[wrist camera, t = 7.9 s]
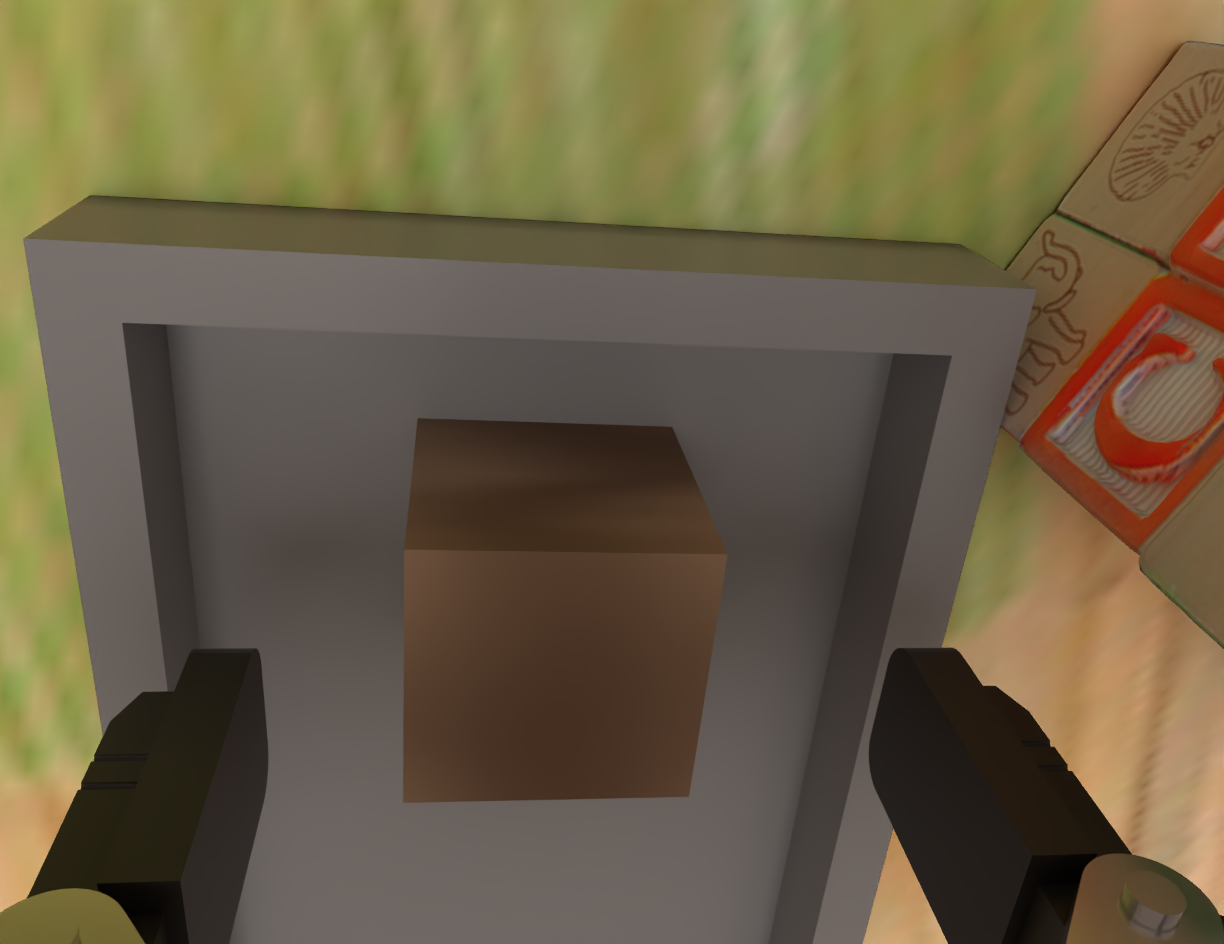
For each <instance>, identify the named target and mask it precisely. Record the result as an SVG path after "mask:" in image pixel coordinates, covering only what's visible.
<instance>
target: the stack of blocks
mask: <svg viewBox="0 0 1224 944" xmlns="http://www.w3.org/2000/svg"><path fill="white" fill-rule="evenodd" d="M1006 272H1008V273H1010V274H1011V275H1013V276H1015V277H1016V278H1018V279H1020V280H1022V281H1023V282H1025V283H1027V284H1028V285H1030V286H1032V287H1033V288H1035V289H1037V291H1036V295H1035V298H1034V302H1033V306H1032V310H1031V313H1030V317H1029V321H1028V325H1027V328H1026V332H1025V336H1024V340H1023V343H1022V347H1021V351H1020V355H1019V358H1018V362H1017V366H1016V370H1015V373H1014V377H1013V381H1012V385H1011V388H1010V392H1009V396H1008V400H1007V403H1006V407H1005V411H1004V415H1003V418H1002V422H1001V427H1002V428H1003V429H1004V430H1006V431H1007V432H1008V433H1009V434H1010V435H1012V436H1013V437H1014V438H1015V439H1016V440H1017V441H1019V442H1020V446H1019V447H1020V448H1021V449H1022V450H1023V451H1024V452H1025V453H1026V454H1027V455H1028V456H1029V457H1030V458H1031V459H1032V460H1033V461H1034V462H1035V463H1036V464H1037V465H1038V466H1039V467H1040V468H1041V469H1042V470H1043V471H1044V472H1045V473H1046V474H1048V475H1049V476H1050V477H1051V478H1052V479H1053V480H1054V481H1055V482H1056V483H1057V484H1059V485H1060V486H1061V487H1062V488H1063V489H1064V490H1065V491H1066V492H1067V493H1068V494H1070V495H1071V496H1072V497H1073V498H1074V499H1075V500H1076V501H1077V502H1078V503H1080V504H1081V505H1082V506H1083V507H1084V508H1085V509H1086V510H1088V511H1089V512H1090V513H1091V514H1092V515H1093V516H1094V517H1095V518H1097V519H1098V520H1099V521H1100V522H1101V523H1102V524H1103V525H1104V526H1106V527H1107V528H1108V529H1109V530H1110V531H1111V532H1112V533H1114V534H1115V535H1116V536H1117V537H1118V538H1119V539H1120V540H1121V541H1123V542H1124V543H1125V544H1126V545H1127V546H1128V547H1129V548H1130V549H1132V550H1133V551H1134V552H1136V553H1137V554H1138V555H1140V557H1139V565H1140V570H1141V571H1142V572H1143V573H1144V574H1145V575H1146V576H1147V577H1148V578H1149V579H1150V580H1151V582H1152V583H1153V584H1154V585H1155V586H1157V587H1158V588H1159V589H1160V590H1161V591H1162V592H1163V593H1164V594H1165V595H1166V596H1167V597H1168V598H1169V599H1170V600H1171V601H1172V602H1174V603H1175V604H1176V605H1177V606H1179V607H1180V608H1181V609H1182V610H1183V611H1184V612H1185V613H1186V614H1187V615H1188V616H1189V617H1190V618H1191V619H1192V620H1193V621H1194V622H1195V623H1196V624H1197V625H1198V626H1199V627H1200V628H1201V629H1202V630H1204V631H1205V632H1206V633H1207V634H1208V635H1209V636H1210V637H1211V638H1212V639H1214V640H1215V641H1216V642H1217V643H1218V644H1219V645H1220V646H1221V647H1222V648H1223V649H1224V45H1220V44H1213V43H1206V42H1197V41H1187V42H1186V43H1185V44H1184V45H1183V46H1182V47H1181V48H1180V49H1179V51H1178V52H1177V53H1176V55H1175V56H1174V57H1173V59H1172V60H1171V61H1170V63H1169V64H1168V65H1167V66H1166V68H1165V69H1164V70H1163V71H1162V73H1161V74H1160V75H1159V76H1158V78H1157V79H1156V80H1155V81H1154V83H1153V84H1152V85H1151V86H1150V88H1149V89H1148V90H1147V91H1146V93H1145V94H1144V95H1143V96H1142V98H1141V99H1140V100H1139V102H1138V103H1137V104H1136V105H1135V107H1134V108H1133V109H1132V111H1131V112H1130V113H1129V114H1128V116H1127V117H1126V118H1125V120H1124V121H1123V122H1122V124H1121V125H1120V126H1119V127H1118V129H1117V130H1116V131H1115V133H1114V134H1113V135H1112V137H1111V138H1110V139H1109V141H1108V142H1107V143H1106V145H1105V146H1104V147H1103V148H1102V150H1101V151H1100V152H1099V154H1098V155H1097V156H1096V158H1095V159H1094V160H1093V162H1092V163H1091V164H1090V165H1089V167H1088V168H1087V169H1086V171H1085V172H1084V173H1083V175H1082V176H1081V177H1080V178H1079V180H1078V181H1077V182H1076V184H1075V185H1074V186H1073V188H1072V189H1071V190H1070V191H1069V193H1068V194H1067V195H1066V197H1065V198H1064V199H1063V201H1062V203H1061V204H1060V206H1059V208H1058V209H1057V211H1056V212H1055V213H1054V214H1053V215H1051V216H1050V217H1049V218H1047V219H1046V220H1045V221H1044V222H1043V223H1042V225H1041V226H1040V227H1039V228H1038V230H1037V231H1036V232H1035V233H1034V235H1033V236H1032V237H1031V239H1030V240H1029V241H1028V243H1027V244H1026V245H1025V247H1024V248H1023V249H1022V251H1021V252H1020V253H1019V254H1018V256H1017V257H1016V258H1015V260H1014V261H1013V262H1012V263H1011V265H1010V266H1009V267H1008V269H1007V270H1006Z"/></svg>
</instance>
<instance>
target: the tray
mask: <svg viewBox="0 0 1224 944" xmlns="http://www.w3.org/2000/svg"><path fill="white" fill-rule="evenodd" d="M23 240H24V246H25V252H26V258H27V265H28V271H29V277H30V283H31V290H32V296H33V302H34V308H35V315H36V321H37V327H38V333H39V340H40V346H41V352H42V358H43V365H44V371H45V377H46V383H47V390H48V396H49V402H50V408H51V414H52V421H53V427H54V433H55V439H56V446H57V452H58V458H59V464H60V471H61V477H62V483H63V489H64V496H65V502H66V508H67V514H68V521H69V527H70V533H71V539H72V545H73V552H74V558H75V564H76V570H77V577H78V583H79V589H80V595H81V602H82V608H83V614H84V620H85V627H86V633H87V639H88V645H89V652H90V658H91V664H92V670H93V677H94V683H95V689H96V695H97V701H98V708H99V714H100V720H101V726H102V733H103V735H104V733H105V731H106V729H107V727H108V725H109V723H110V721H111V720H112V719H113V718H114V717H115V716H116V715H118V714H119V713H120V712H121V711H122V710H123V709H124V708H125V707H126V706H127V705H129V704H130V703H131V702H132V701H133V700H134V699H135V698H136V697H137V696H138V695H140V694H141V693H142V692H161V691H174V690H175V688H176V685H177V683H178V680H179V678H180V675H181V673H182V670H183V668H184V665H185V663H186V660H187V658H188V656H189V654H190V652H191V651H192V650H193V649H215V648H257V649H258V651H259V653H260V658H261V665H262V677H263V689H264V701H265V714H266V726H267V738H268V777H267V786H266V793H265V799H264V803H263V807H262V812H261V816H260V820H259V824H258V828H257V832H256V836H255V840H254V844H253V848H252V852H251V856H250V860H249V864H248V868H247V873H246V877H245V881H244V885H243V889H242V893H241V897H240V901H239V905H238V909H237V913H236V917H235V921H234V925H233V930H232V934H231V938H230V942H229V944H862V943H863V940H864V936H865V932H866V928H867V925H868V921H869V917H870V913H871V910H872V906H873V902H874V898H875V895H876V891H877V887H878V883H879V880H880V876H881V872H882V868H883V865H884V861H885V857H886V853H887V850H888V846H889V842H890V838H891V835H892V831H893V826H892V824H891V822H890V820H889V818H888V816H887V813H886V811H885V809H884V807H883V805H882V803H881V801H880V799H879V797H878V794H877V792H876V790H875V788H874V785H873V782H872V778H871V774H870V767H869V741H870V736H871V732H872V728H873V724H874V719H875V715H876V711H877V707H878V703H879V699H880V695H881V690H882V686H883V682H884V678H885V674H886V670H887V666H888V662H889V659H890V656H891V654H892V653H893V651H894V650H895V649H897V648H941V647H942V643H943V640H944V636H945V632H946V628H947V625H948V621H949V617H950V613H951V610H952V606H953V602H954V598H955V595H956V591H957V587H958V583H959V580H960V576H961V572H962V568H963V565H964V561H965V557H966V553H967V550H968V546H969V542H970V538H971V535H972V531H973V527H974V523H975V520H976V516H977V512H978V508H979V505H980V501H981V497H982V493H983V490H984V486H985V482H986V478H987V475H988V471H989V467H990V463H991V460H992V456H993V452H994V448H995V445H996V441H997V437H998V433H999V430H1000V426H1001V422H1002V418H1003V415H1004V411H1005V407H1006V403H1007V400H1008V396H1009V392H1010V388H1011V385H1012V381H1013V377H1014V373H1015V370H1016V366H1017V362H1018V358H1019V355H1020V351H1021V347H1022V343H1023V340H1024V336H1025V332H1026V328H1027V325H1028V321H1029V317H1030V313H1031V310H1032V306H1033V302H1034V298H1035V295H1036V291H1037V289H1035V288H1033V287H1032V286H1030V285H1028V284H1027V283H1025V282H1023V281H1022V280H1020V279H1018V278H1016V277H1015V276H1013V275H1011V274H1010V273H1008V272H1006V271H1005V270H1003V269H1001V268H1000V267H998V266H996V265H994V264H993V263H991V262H989V261H988V260H986V259H984V258H983V257H981V256H979V255H977V254H976V253H974V252H972V251H971V250H969V249H967V248H966V247H964V246H962V245H961V244H943V243H925V242H908V241H890V240H872V239H854V238H837V237H819V236H801V235H783V234H766V233H748V232H730V231H712V230H695V229H677V228H659V227H641V226H624V225H606V224H588V223H571V222H553V221H535V220H517V219H500V218H482V217H464V216H446V215H429V214H411V213H393V212H375V211H358V210H340V209H322V208H304V207H287V206H269V205H251V204H233V203H216V202H198V201H180V200H162V199H145V198H127V197H109V196H92V195H90V196H88V197H87V198H85V199H84V200H82V201H81V202H79V203H78V204H76V205H75V206H73V207H71V208H70V209H68V210H67V211H65V212H64V213H62V214H61V215H59V216H58V217H56V218H54V219H53V220H51V221H50V222H48V223H47V224H45V225H44V226H42V227H41V228H39V229H38V230H36V231H34V232H33V233H31V234H30V235H28V236H27V237H25V238H24V239H23ZM418 418H428V419H458V420H488V421H518V422H547V423H577V424H607V425H636V426H666V427H672V428H673V430H674V432H675V435H676V437H677V439H678V442H679V444H680V446H681V448H682V451H683V453H684V455H685V458H686V460H687V462H688V464H689V467H690V469H691V471H692V474H693V476H694V478H695V481H696V483H697V485H698V487H699V490H700V492H701V494H702V497H703V499H704V501H705V503H706V506H707V508H708V510H709V513H710V515H711V517H712V520H713V522H714V524H715V526H716V529H717V531H718V533H719V536H720V538H721V540H722V542H723V545H724V547H725V549H726V552H727V554H728V556H727V562H726V569H725V575H724V581H723V587H722V594H721V600H720V606H719V612H718V619H717V625H716V631H715V637H714V644H713V650H712V656H711V662H710V669H709V675H708V681H707V687H706V694H705V700H704V706H703V712H702V719H701V725H700V731H699V738H698V744H697V750H696V756H695V763H694V769H693V775H692V781H691V788H690V794H689V797H664V798H616V799H569V800H521V801H474V802H427V803H403V701H404V548H405V538H406V528H407V518H408V508H409V499H410V489H411V479H412V469H413V459H414V450H415V440H416V430H417V420H418Z"/></svg>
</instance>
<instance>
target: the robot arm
mask: <svg viewBox="0 0 1224 944" xmlns="http://www.w3.org/2000/svg"><path fill="white" fill-rule="evenodd" d="M94 756H95V757H94V762H91V763H90V765H89V767H88V770H87V772H86V774H85V776H84V778H83V780H82V782H81V790H78V791H77V793H76V795H75V797H74V799H73V802H72V804H71V806H70V808H69V810H68V812H67V814H66V817H65V819H64V821H63V823H62V825H61V827H60V829H59V831H58V834H57V836H56V838H55V840H54V842H53V844H52V846H51V849H50V851H49V853H48V855H47V857H46V859H45V861H44V863H43V866H42V868H41V870H40V872H39V874H38V876H37V878H36V880H35V883H34V885H33V887H32V889H31V891H30V893H29V895H28V897H27V899H25V900H22V901H20V902H18V903H16V904H14V905H12V906H11V907H9V908H7V909H5V910H4V911H2V912H1V913H0V944H229V942H230V938H231V934H232V930H233V925H234V921H235V917H236V913H237V909H238V905H239V901H240V897H241V893H242V889H243V885H244V881H245V877H246V873H247V868H248V864H249V860H250V856H251V852H252V848H253V844H254V840H255V836H256V832H257V828H258V824H259V820H260V816H261V812H262V807H263V803H264V799H265V793H266V786H267V777H268V738H267V726H266V714H265V701H264V689H263V677H262V665H261V658H260V653H259V651H258V649H257V648H215V649H193V650H192V651H191V652H190V654H189V656H188V658H187V660H186V663H185V665H184V668H183V670H182V673H181V675H180V678H179V680H178V683H177V685H176V688H175V690H174V691H161V692H142V693H141V694H140V695H138V696H137V697H136V698H135V699H134V700H133V701H132V702H131V703H130V704H129V705H127V706H126V707H125V708H124V709H123V710H122V711H121V712H120V713H119V714H118V715H116V716H115V717H114V718H113V719H112V720H111V721H110V723H109V725H108V727H107V729H106V731H105V733H104V735H103V738H102V740H101V742H100V744H99V746H98V748H97V750H96V753H95V755H94ZM869 767H870V774H871V778H872V782H873V785H874V788H875V790H876V792H877V794H878V797H879V799H880V801H881V803H882V805H883V807H884V809H885V811H886V813H887V816H888V818H889V820H890V822H891V824H892V826H893V828H894V830H895V832H896V835H897V837H898V839H899V841H900V843H901V845H902V847H903V849H904V851H905V854H906V856H907V858H908V860H909V862H910V864H911V866H912V868H913V870H914V873H915V875H916V877H917V879H918V881H919V883H920V885H921V887H922V889H923V892H924V894H925V896H926V898H927V900H928V902H929V904H930V906H931V908H932V911H933V913H934V915H935V917H936V919H937V921H938V923H939V925H940V927H941V930H942V932H943V934H944V936H945V938H946V940H947V942H948V944H1224V916H1222V915H1219V913H1218V911H1217V910H1216V908H1215V906H1214V905H1213V904H1212V902H1211V901H1210V900H1209V898H1208V897H1207V896H1206V895H1205V894H1204V893H1203V892H1202V891H1201V890H1200V889H1199V888H1198V887H1197V886H1196V885H1194V884H1193V883H1192V882H1191V881H1189V880H1188V879H1187V878H1185V877H1184V876H1182V875H1181V874H1179V873H1178V872H1176V871H1174V870H1173V869H1171V868H1169V867H1167V866H1165V865H1163V864H1160V863H1158V862H1156V861H1153V860H1150V859H1147V858H1144V857H1140V856H1136V855H1132V854H1131V852H1130V851H1129V850H1128V848H1127V847H1126V845H1125V844H1124V843H1123V841H1122V840H1121V838H1120V837H1119V836H1118V834H1117V833H1116V832H1115V830H1114V829H1113V827H1112V826H1111V825H1110V823H1109V822H1108V820H1107V819H1106V818H1105V816H1104V815H1103V813H1102V812H1101V811H1100V809H1099V808H1098V807H1097V805H1096V804H1095V802H1094V801H1093V800H1092V798H1091V797H1090V795H1089V794H1088V793H1087V791H1086V790H1085V789H1084V787H1083V786H1082V784H1081V783H1080V782H1079V780H1078V779H1077V777H1076V776H1075V775H1074V773H1073V772H1072V771H1068V769H1067V764H1066V762H1065V761H1064V759H1063V758H1062V757H1061V755H1060V754H1059V753H1058V751H1057V750H1056V748H1055V747H1051V746H1050V740H1049V739H1048V737H1047V736H1046V735H1045V733H1044V732H1043V730H1042V729H1041V728H1040V726H1039V725H1038V723H1037V722H1036V721H1035V719H1034V718H1033V717H1032V715H1031V714H1030V712H1029V711H1028V710H1026V709H1025V708H1024V707H1022V706H1021V705H1020V704H1018V703H1017V702H1016V701H1014V700H1013V699H1012V698H1011V697H1009V696H1008V695H1007V694H1005V693H1004V692H1003V691H1001V690H1000V689H999V688H997V687H996V686H983V685H982V684H981V683H980V681H979V680H978V678H977V677H976V675H975V674H974V672H973V671H972V669H971V668H970V666H969V665H968V664H967V662H966V661H965V659H964V658H963V656H962V655H961V654H960V652H959V651H957V650H956V649H954V648H897V649H895V650H894V651H893V653H892V654H891V656H890V659H889V662H888V666H887V670H886V674H885V678H884V682H883V686H882V690H881V695H880V699H879V703H878V707H877V711H876V715H875V719H874V724H873V728H872V732H871V736H870V741H869Z"/></svg>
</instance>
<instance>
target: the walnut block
mask: <svg viewBox="0 0 1224 944" xmlns="http://www.w3.org/2000/svg"><path fill="white" fill-rule="evenodd" d="M727 556H728V554H727V552H726V549H725V547H724V545H723V542H722V540H721V538H720V536H719V533H718V531H717V529H716V526H715V524H714V522H713V520H712V517H711V515H710V513H709V510H708V508H707V506H706V503H705V501H704V499H703V497H702V494H701V492H700V490H699V487H698V485H697V483H696V481H695V478H694V476H693V474H692V471H691V469H690V467H689V464H688V462H687V460H686V458H685V455H684V453H683V451H682V448H681V446H680V444H679V442H678V439H677V437H676V435H675V432H674V430H673V428H672V427H666V426H636V425H607V424H577V423H547V422H518V421H488V420H458V419H428V418H418V420H417V430H416V440H415V450H414V459H413V469H412V479H411V489H410V499H409V508H408V518H407V528H406V538H405V548H404V701H403V803H427V802H474V801H521V800H569V799H616V798H664V797H689V794H690V788H691V781H692V775H693V769H694V763H695V756H696V750H697V744H698V738H699V731H700V725H701V719H702V712H703V706H704V700H705V694H706V687H707V681H708V675H709V669H710V662H711V656H712V650H713V644H714V637H715V631H716V625H717V619H718V612H719V606H720V600H721V594H722V587H723V581H724V575H725V569H726V562H727Z"/></svg>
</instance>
